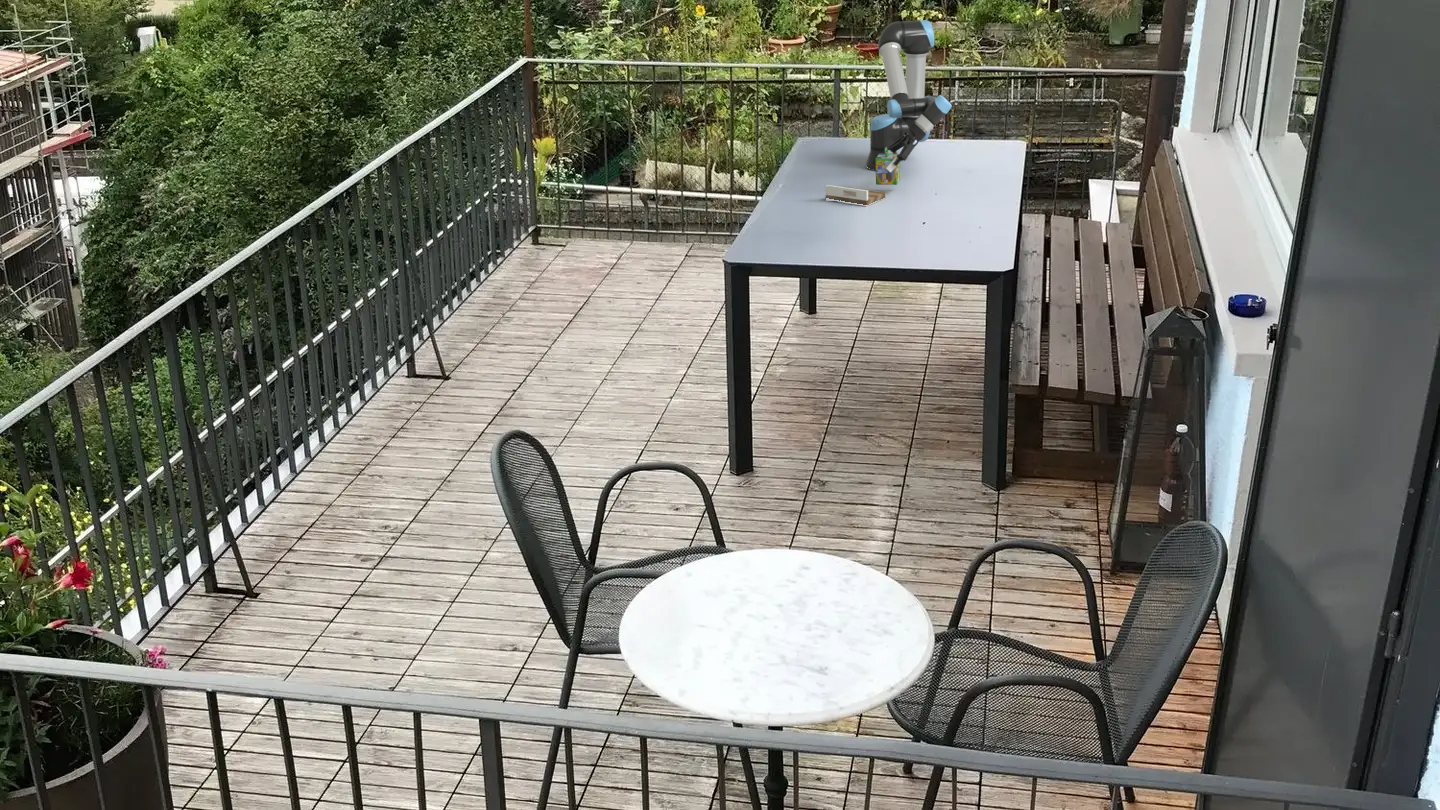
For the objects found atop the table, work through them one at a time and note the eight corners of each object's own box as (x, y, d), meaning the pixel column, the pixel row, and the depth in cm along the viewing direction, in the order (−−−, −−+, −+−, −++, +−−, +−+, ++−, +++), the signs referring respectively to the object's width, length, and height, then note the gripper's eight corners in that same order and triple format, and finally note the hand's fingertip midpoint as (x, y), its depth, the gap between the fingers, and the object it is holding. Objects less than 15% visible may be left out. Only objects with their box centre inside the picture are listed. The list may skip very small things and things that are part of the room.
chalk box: (896, 185, 568) (896, 150, 561) (875, 185, 570) (875, 150, 564) (900, 180, 576) (900, 145, 569) (879, 179, 578) (879, 145, 572)
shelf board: (844, 192, 577) (844, 177, 574) (885, 198, 566) (885, 183, 563) (825, 200, 566) (825, 185, 563) (866, 206, 554) (866, 191, 552)
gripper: (934, 140, 556) (897, 179, 560) (918, 127, 577) (883, 165, 582) (922, 128, 553) (885, 168, 558) (906, 116, 575) (871, 154, 579)
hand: (884, 166), depth 570 cm, fingers closed on chalk box, 11 cm apart
